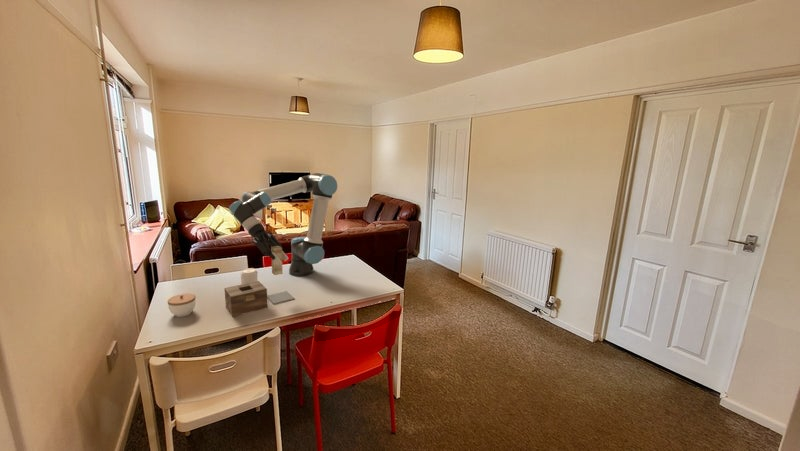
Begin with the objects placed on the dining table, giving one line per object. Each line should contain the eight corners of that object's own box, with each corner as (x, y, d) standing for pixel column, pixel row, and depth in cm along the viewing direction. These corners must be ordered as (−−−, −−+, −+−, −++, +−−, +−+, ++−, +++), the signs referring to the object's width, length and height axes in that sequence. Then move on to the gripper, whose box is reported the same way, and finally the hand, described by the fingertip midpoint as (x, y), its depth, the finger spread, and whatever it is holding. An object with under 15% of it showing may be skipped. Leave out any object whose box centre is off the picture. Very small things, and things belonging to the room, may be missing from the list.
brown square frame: (225, 307, 158) (224, 288, 156) (259, 298, 168) (258, 281, 166) (232, 317, 149) (231, 297, 147) (267, 308, 159) (267, 289, 157)
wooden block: (271, 272, 167) (271, 246, 164) (279, 271, 169) (278, 245, 166) (274, 275, 164) (273, 248, 161) (282, 273, 166) (281, 247, 163)
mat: (266, 296, 171) (266, 295, 171) (286, 292, 178) (286, 291, 178) (273, 304, 163) (273, 303, 163) (294, 299, 170) (294, 298, 170)
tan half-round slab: (242, 295, 172) (240, 273, 169) (241, 289, 179) (240, 268, 176) (258, 292, 175) (257, 271, 173) (257, 287, 182) (256, 267, 180)
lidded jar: (194, 306, 157) (192, 288, 155) (198, 314, 150) (197, 296, 148) (167, 312, 150) (165, 293, 148) (170, 321, 143) (168, 302, 141)
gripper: (261, 228, 174) (288, 260, 174) (236, 235, 157) (267, 271, 157) (269, 219, 172) (297, 252, 172) (245, 226, 154) (276, 262, 154)
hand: (283, 261), depth 164 cm, fingers closed on wooden block, 6 cm apart
